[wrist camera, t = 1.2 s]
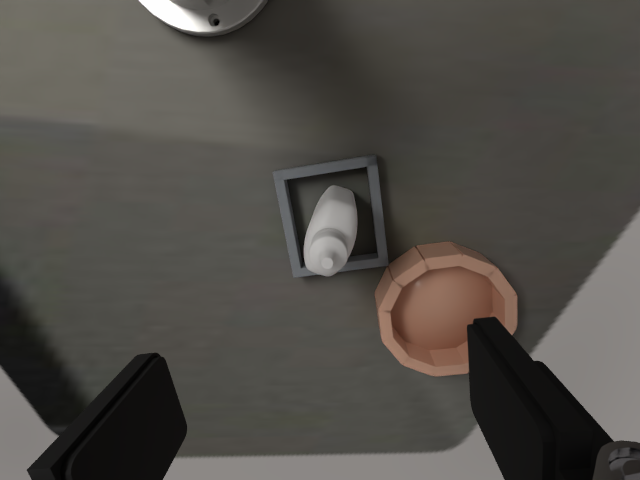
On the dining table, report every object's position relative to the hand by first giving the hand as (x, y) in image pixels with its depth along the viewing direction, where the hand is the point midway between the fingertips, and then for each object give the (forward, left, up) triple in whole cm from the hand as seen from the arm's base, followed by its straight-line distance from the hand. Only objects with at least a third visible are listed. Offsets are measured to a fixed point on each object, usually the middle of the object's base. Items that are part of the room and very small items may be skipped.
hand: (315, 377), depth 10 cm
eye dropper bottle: (0, 0, -22) cm, 22 cm away
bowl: (+9, +8, -21) cm, 25 cm away
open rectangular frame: (0, 0, -21) cm, 21 cm away
